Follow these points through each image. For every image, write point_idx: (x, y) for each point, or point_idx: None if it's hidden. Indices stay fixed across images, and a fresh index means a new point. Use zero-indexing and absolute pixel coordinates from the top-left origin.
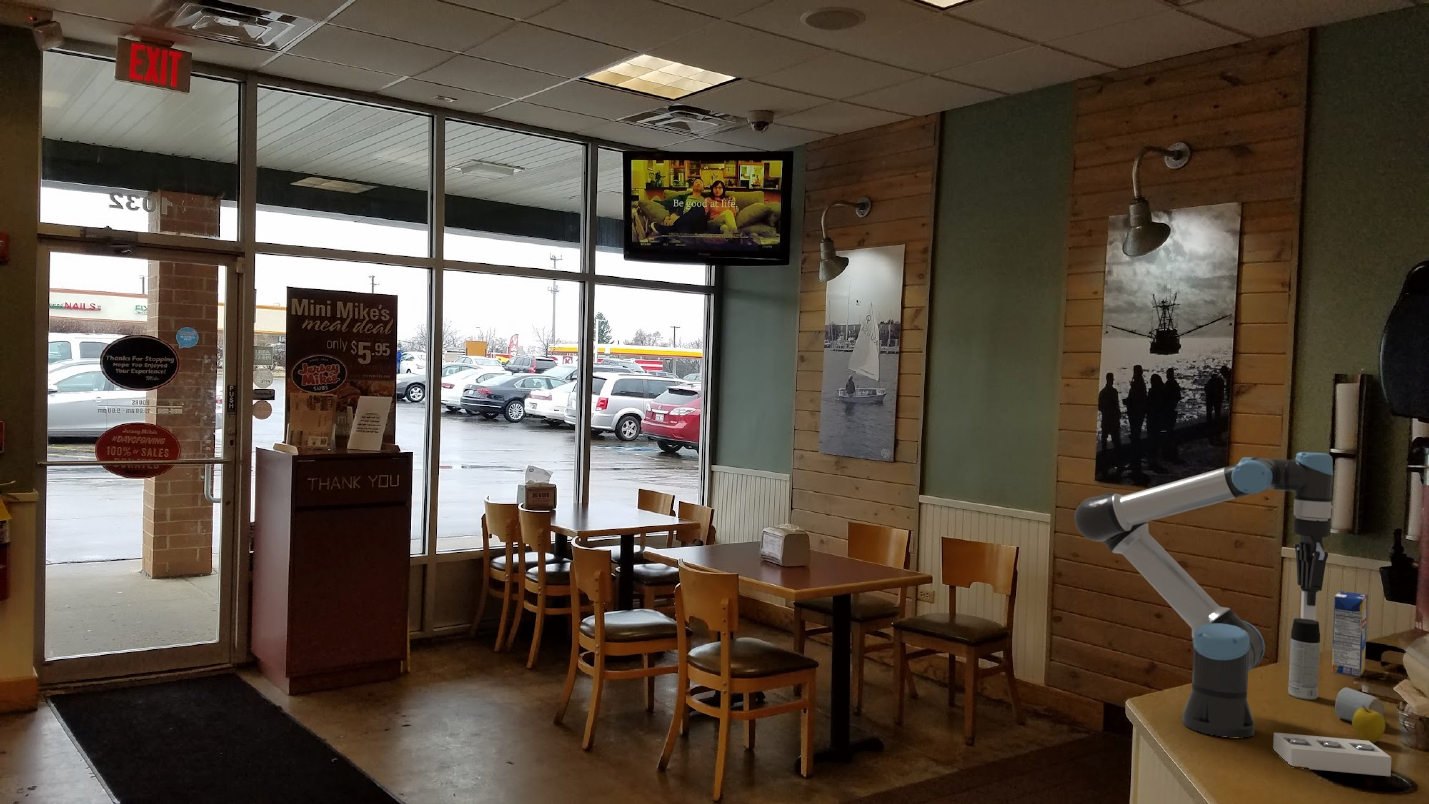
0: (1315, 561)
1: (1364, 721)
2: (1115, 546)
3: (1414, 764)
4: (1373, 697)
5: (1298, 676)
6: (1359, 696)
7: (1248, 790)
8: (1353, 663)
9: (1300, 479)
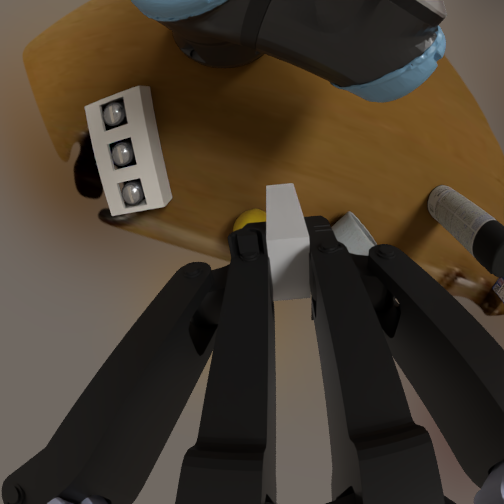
0: (54, 449)
1: (236, 223)
2: None
3: (181, 245)
4: None
5: (448, 202)
6: None
7: (30, 74)
8: (502, 291)
9: None
